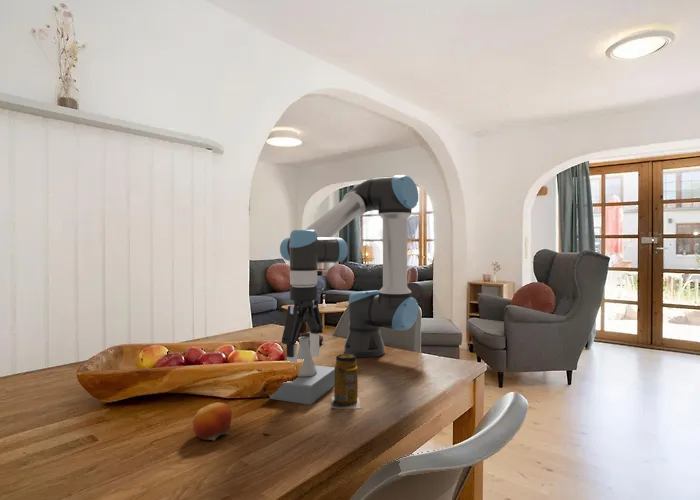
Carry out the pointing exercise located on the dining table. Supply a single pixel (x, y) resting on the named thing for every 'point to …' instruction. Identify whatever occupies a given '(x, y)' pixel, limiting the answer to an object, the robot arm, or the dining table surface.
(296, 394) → the slate box
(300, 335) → the brown sculpture on stand
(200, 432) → the fruit
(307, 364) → the flask
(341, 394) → the condiment
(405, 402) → the dining table surface
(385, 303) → the robot arm
